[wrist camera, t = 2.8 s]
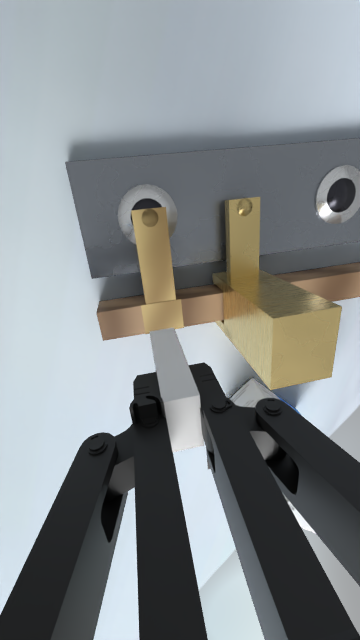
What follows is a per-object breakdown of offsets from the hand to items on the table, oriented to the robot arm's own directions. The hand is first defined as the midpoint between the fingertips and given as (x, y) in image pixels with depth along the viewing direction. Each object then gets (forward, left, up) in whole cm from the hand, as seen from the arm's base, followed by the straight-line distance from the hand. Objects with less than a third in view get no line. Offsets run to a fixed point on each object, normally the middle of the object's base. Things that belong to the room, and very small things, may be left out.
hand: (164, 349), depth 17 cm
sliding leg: (+8, +3, -8) cm, 11 cm away
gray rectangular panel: (+9, +7, -8) cm, 14 cm away
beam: (+9, +3, -8) cm, 12 cm away
